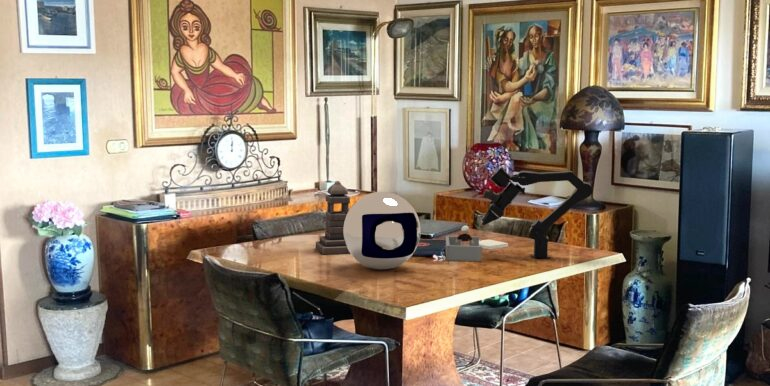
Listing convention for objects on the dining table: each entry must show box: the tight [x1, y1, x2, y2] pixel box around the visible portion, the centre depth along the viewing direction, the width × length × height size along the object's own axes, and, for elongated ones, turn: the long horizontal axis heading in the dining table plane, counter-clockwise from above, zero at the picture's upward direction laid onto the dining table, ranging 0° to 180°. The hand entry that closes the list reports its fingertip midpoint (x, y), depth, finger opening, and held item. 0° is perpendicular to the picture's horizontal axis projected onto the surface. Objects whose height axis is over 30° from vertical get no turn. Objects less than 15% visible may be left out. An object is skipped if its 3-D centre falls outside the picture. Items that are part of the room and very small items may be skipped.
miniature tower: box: [315, 180, 351, 256], centre depth 379 cm, size 16×15×30 cm
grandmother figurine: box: [456, 225, 474, 246], centre depth 373 cm, size 8×4×13 cm, turn 84°
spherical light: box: [343, 191, 422, 271], centre depth 344 cm, size 30×29×30 cm
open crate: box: [445, 235, 483, 262], centre depth 374 cm, size 14×23×6 cm, turn 177°
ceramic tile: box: [479, 239, 509, 250], centre depth 396 cm, size 12×12×2 cm
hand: (482, 222), depth 374 cm, fingers open, 9 cm apart
